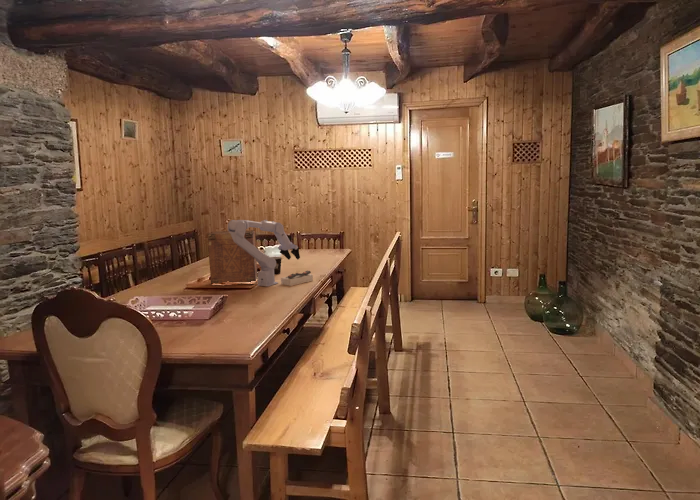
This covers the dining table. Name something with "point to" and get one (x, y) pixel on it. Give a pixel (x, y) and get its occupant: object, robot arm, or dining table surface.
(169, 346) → the dining table surface
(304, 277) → the power strip
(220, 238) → the carved wooden box
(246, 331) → the dining table surface
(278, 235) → the robot arm
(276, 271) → the coffee mug
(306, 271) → the rocker outer
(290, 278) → the rocker inner
